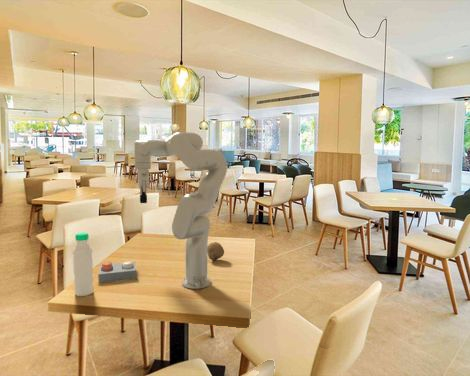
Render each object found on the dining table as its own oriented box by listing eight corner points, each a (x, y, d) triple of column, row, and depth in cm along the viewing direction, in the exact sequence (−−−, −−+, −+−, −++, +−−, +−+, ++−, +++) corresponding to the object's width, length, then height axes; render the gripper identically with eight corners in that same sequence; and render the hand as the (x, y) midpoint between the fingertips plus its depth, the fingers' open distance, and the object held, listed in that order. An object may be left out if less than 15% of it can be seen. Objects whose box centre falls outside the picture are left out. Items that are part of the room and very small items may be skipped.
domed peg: (132, 273, 155) (132, 264, 154) (123, 274, 154) (122, 265, 153) (132, 270, 159) (132, 261, 159) (122, 271, 158) (122, 262, 157)
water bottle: (88, 287, 142) (86, 230, 138) (96, 292, 137) (94, 233, 134) (71, 293, 136) (68, 233, 133) (79, 298, 132) (77, 237, 129)
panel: (136, 278, 152) (136, 270, 152) (98, 282, 147) (98, 274, 146) (135, 269, 163) (134, 261, 163) (99, 272, 158) (99, 264, 157)
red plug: (112, 274, 152) (112, 265, 151) (101, 275, 151) (101, 266, 150) (112, 271, 156) (112, 261, 156) (102, 272, 155) (102, 262, 154)
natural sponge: (224, 258, 182) (224, 240, 181) (223, 263, 173) (223, 245, 172) (207, 257, 182) (208, 239, 181) (206, 263, 173) (206, 244, 172)
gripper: (152, 166, 157) (152, 205, 160) (149, 164, 171) (149, 200, 174) (135, 166, 155) (136, 205, 157) (134, 165, 169) (134, 200, 171)
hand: (143, 202), depth 165 cm, fingers closed
